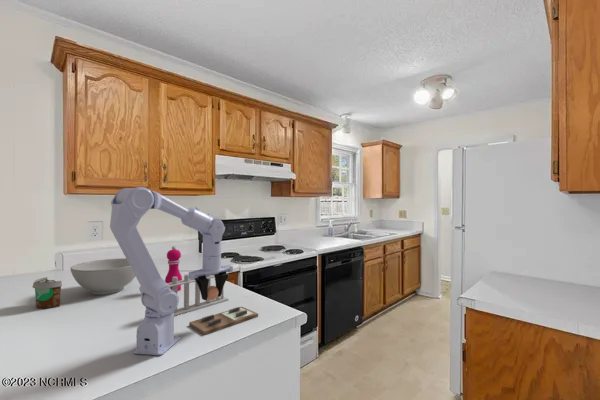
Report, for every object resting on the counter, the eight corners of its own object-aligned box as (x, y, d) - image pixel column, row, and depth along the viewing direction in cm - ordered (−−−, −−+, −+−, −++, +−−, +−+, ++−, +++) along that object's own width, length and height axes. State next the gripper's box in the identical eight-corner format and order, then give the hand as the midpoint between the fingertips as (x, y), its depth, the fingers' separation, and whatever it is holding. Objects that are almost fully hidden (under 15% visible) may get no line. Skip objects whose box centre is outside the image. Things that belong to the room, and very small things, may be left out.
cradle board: (204, 335, 85) (204, 327, 85) (189, 325, 92) (189, 318, 92) (258, 316, 100) (258, 310, 100) (241, 309, 107) (241, 303, 107)
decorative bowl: (119, 280, 148) (119, 256, 148) (154, 286, 136) (154, 261, 136) (56, 294, 124) (57, 266, 124) (93, 304, 112) (93, 273, 112)
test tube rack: (167, 319, 98) (167, 280, 98) (161, 315, 101) (161, 278, 101) (228, 300, 117) (228, 268, 117) (222, 298, 120) (222, 266, 120)
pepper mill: (164, 288, 132) (165, 245, 133) (181, 287, 135) (182, 244, 136) (164, 293, 126) (165, 247, 126) (182, 291, 129) (182, 246, 129)
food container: (25, 306, 109) (26, 280, 109) (46, 302, 114) (46, 276, 114) (41, 312, 103) (41, 284, 103) (61, 307, 109) (61, 280, 109)
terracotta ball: (215, 302, 90) (215, 288, 90) (201, 301, 91) (202, 287, 91) (220, 297, 95) (220, 284, 95) (207, 297, 95) (208, 283, 95)
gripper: (225, 251, 101) (224, 290, 101) (184, 256, 90) (184, 299, 90) (236, 253, 96) (236, 294, 96) (194, 259, 86) (194, 305, 85)
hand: (211, 297), depth 93 cm, fingers closed on terracotta ball, 4 cm apart
